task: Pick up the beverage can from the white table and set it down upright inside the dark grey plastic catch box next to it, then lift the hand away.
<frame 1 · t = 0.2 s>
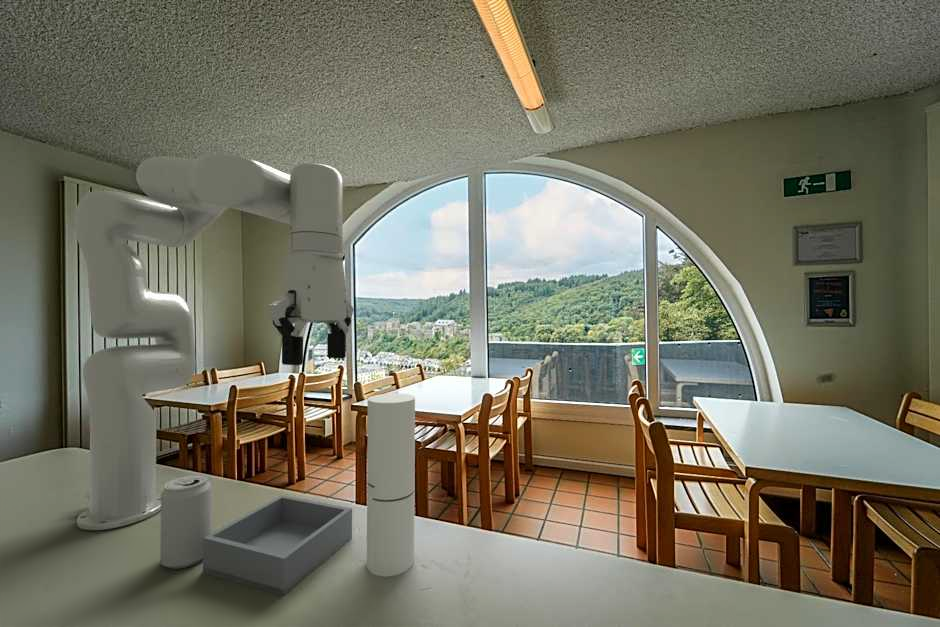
hand: (316, 361, 61), 31 cm above the table, tool pointing down, fingers open, 9 cm apart
catch box: (282, 553, 63), on the table
beverage can: (186, 560, 62), on the table
cylindrical container: (390, 562, 62), on the table
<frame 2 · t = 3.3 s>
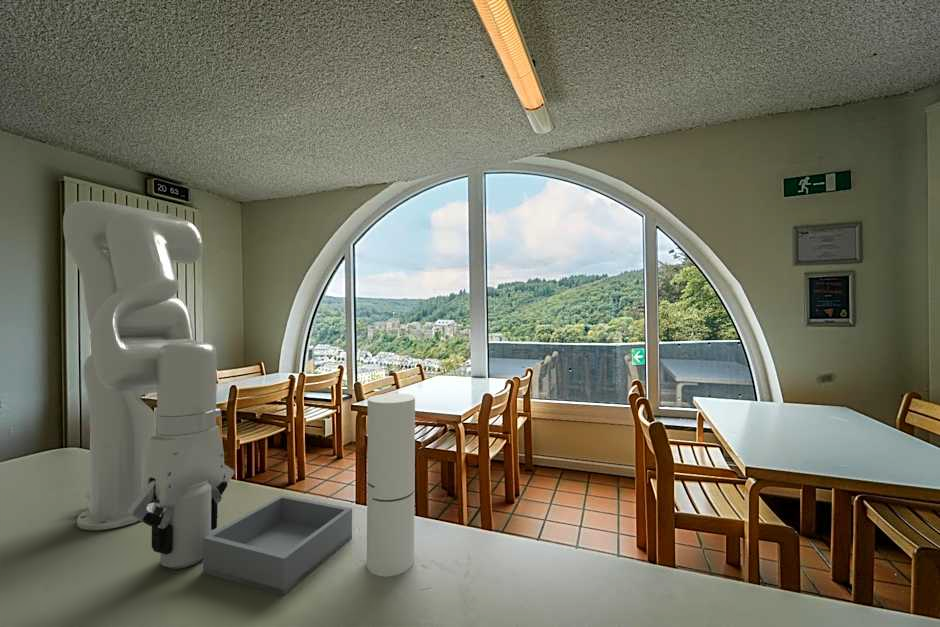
hand: (186, 538, 62), 3 cm above the table, tool pointing down, fingers closed on beverage can, 6 cm apart
beverage can: (186, 560, 62), on the table, touching gripper
everything else where it was.
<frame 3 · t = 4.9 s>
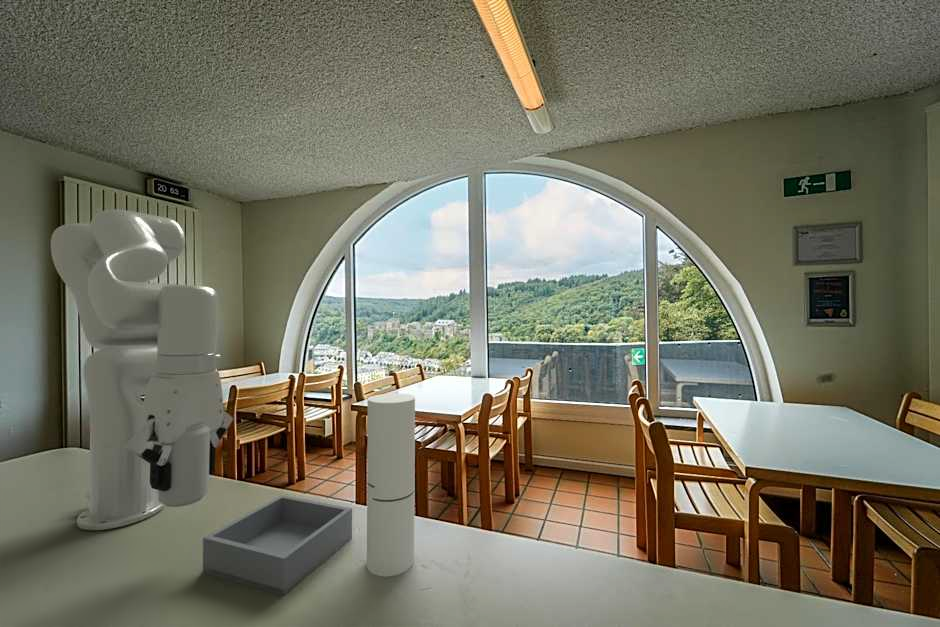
hand: (184, 478, 63), 12 cm above the table, tool pointing down, fingers closed on beverage can, 6 cm apart
beverage can: (183, 500, 63), point 9 cm above the table, touching gripper
everything else where it was.
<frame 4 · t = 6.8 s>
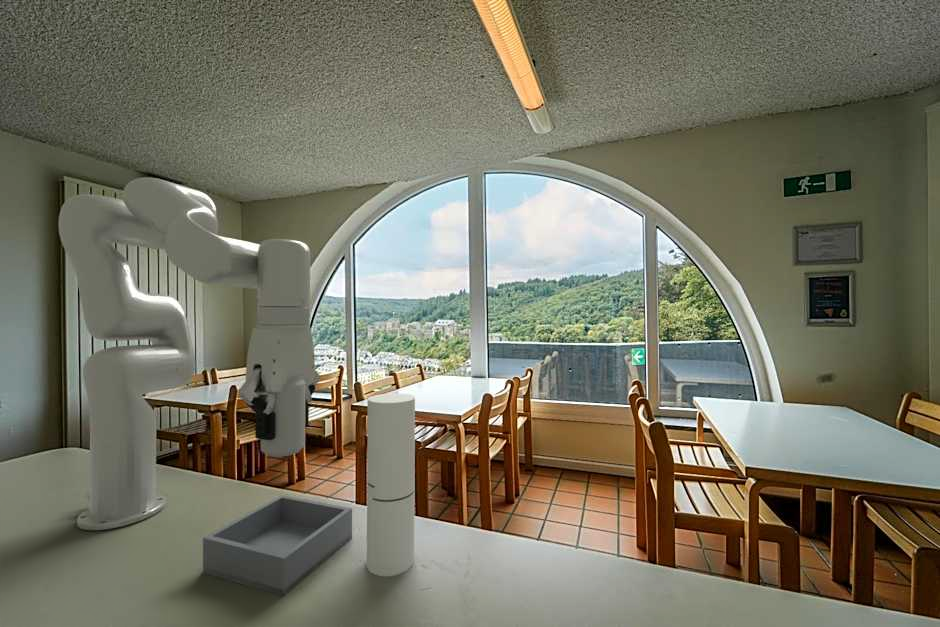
hand: (283, 431, 64), 19 cm above the table, tool pointing down, fingers closed on beverage can, 6 cm apart
beverage can: (283, 452, 64), point 16 cm above the table, touching gripper
everything else where it was.
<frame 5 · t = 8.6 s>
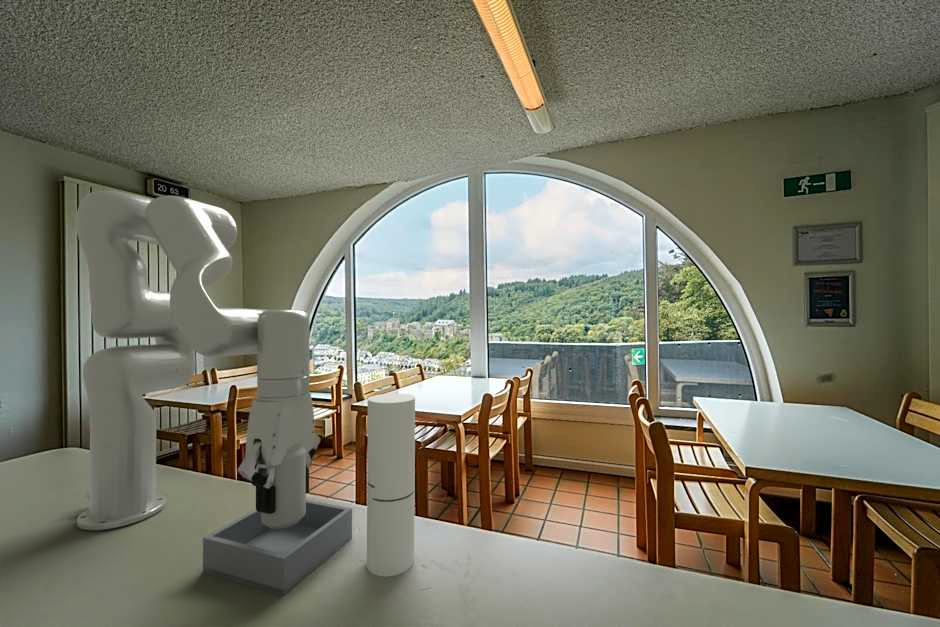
hand: (283, 500, 63), 8 cm above the table, tool pointing down, fingers closed on beverage can, 6 cm apart
beverage can: (283, 522, 63), point 5 cm above the table, touching gripper
everything else where it was.
when the fingers open (6 cm above the table, at t = 10.1 s): beverage can drops 2 cm, resting on catch box.
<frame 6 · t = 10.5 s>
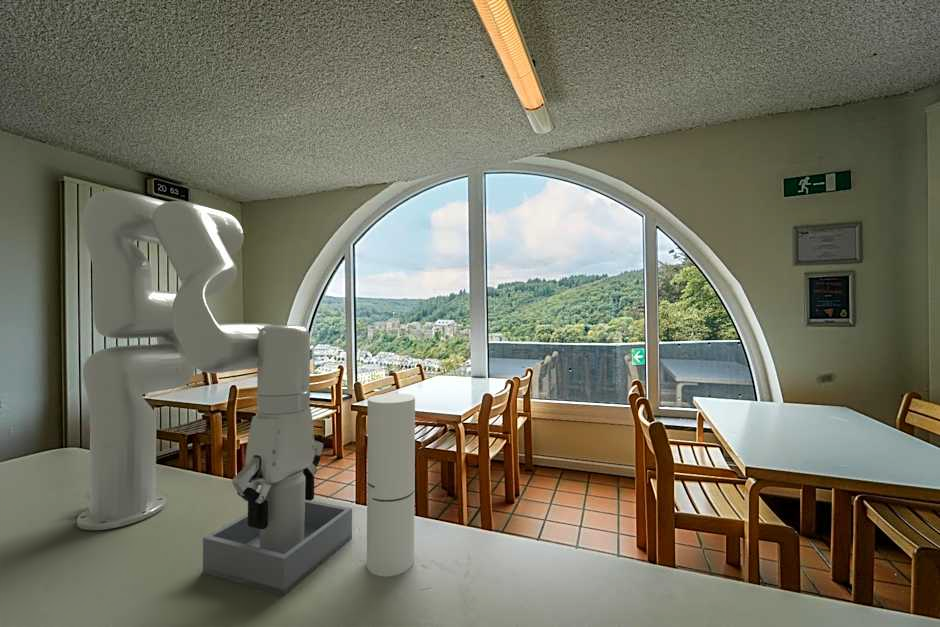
hand: (283, 511, 64), 7 cm above the table, tool pointing down, fingers open, 9 cm apart
beverage can: (281, 549, 64), point 1 cm above the table, touching catch box
everything else where it was.
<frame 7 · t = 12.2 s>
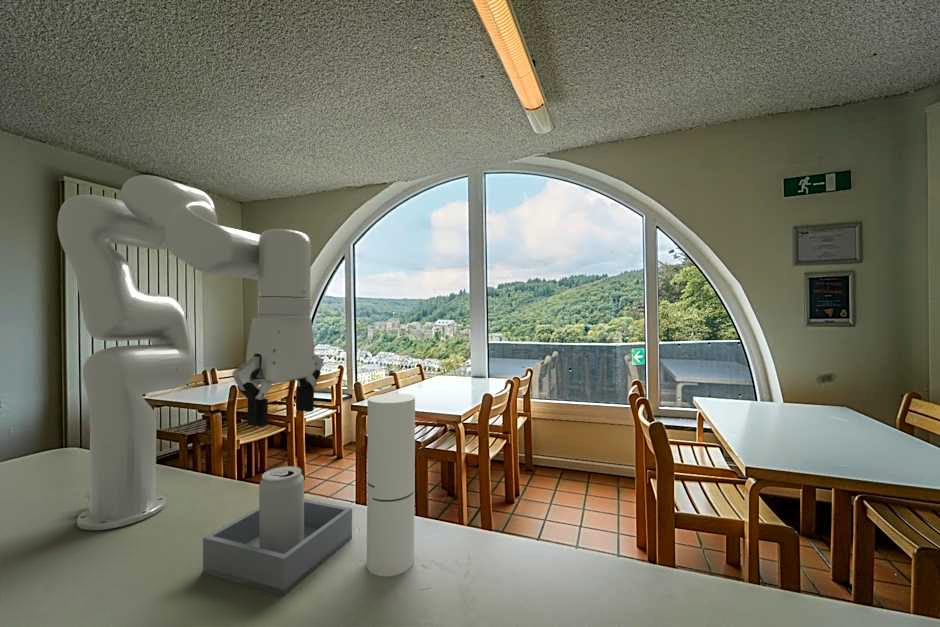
hand: (282, 417, 64), 21 cm above the table, tool pointing down, fingers open, 9 cm apart
nothing on the table moved.
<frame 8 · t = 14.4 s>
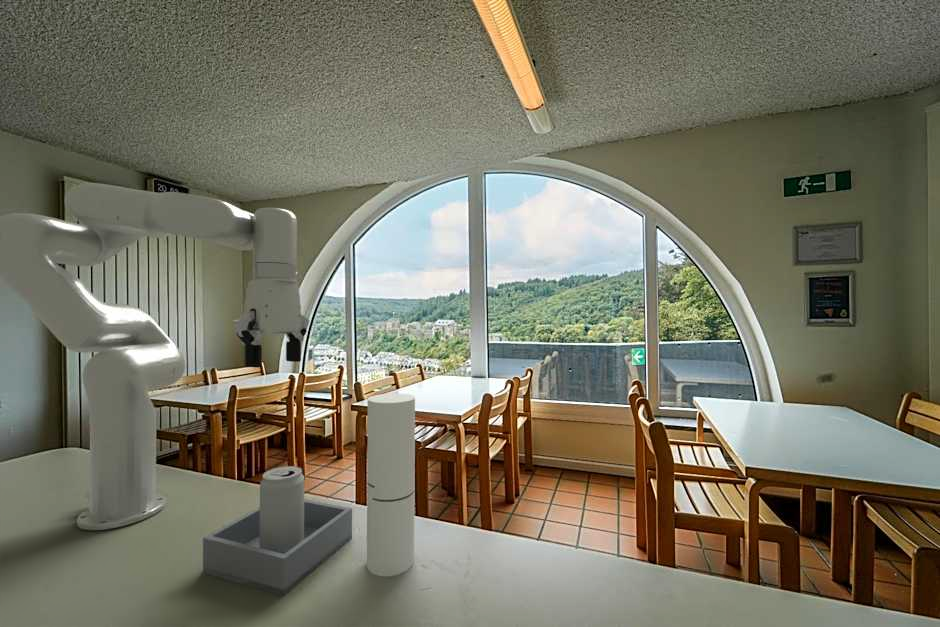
hand: (274, 363, 77), 28 cm above the table, tool pointing down, fingers open, 9 cm apart
nothing on the table moved.
at the end: beverage can inside the target area on the catch box (0.2 cm from its centre), point 0.6 cm above the catch box's base; beverage can tilted 0°; the gripper is holding nothing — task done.
